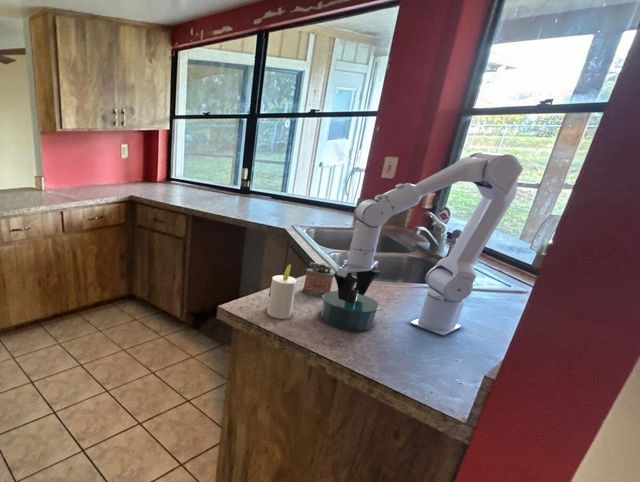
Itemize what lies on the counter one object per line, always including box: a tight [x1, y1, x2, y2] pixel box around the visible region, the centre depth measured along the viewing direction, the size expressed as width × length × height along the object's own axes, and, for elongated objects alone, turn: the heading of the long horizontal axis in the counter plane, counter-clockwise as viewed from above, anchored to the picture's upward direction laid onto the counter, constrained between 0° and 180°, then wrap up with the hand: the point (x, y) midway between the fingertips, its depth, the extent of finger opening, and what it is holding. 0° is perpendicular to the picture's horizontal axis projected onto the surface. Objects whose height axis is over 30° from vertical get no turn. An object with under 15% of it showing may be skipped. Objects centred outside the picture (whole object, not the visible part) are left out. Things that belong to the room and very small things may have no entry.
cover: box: [322, 286, 380, 313], centre depth 108 cm, size 14×14×5 cm
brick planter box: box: [302, 261, 335, 298], centre depth 126 cm, size 8×3×10 cm, turn 58°
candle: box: [266, 263, 298, 320], centre depth 111 cm, size 6×6×15 cm
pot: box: [320, 300, 377, 332], centre depth 110 cm, size 13×13×5 cm
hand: (351, 296), depth 108 cm, fingers open, 7 cm apart
